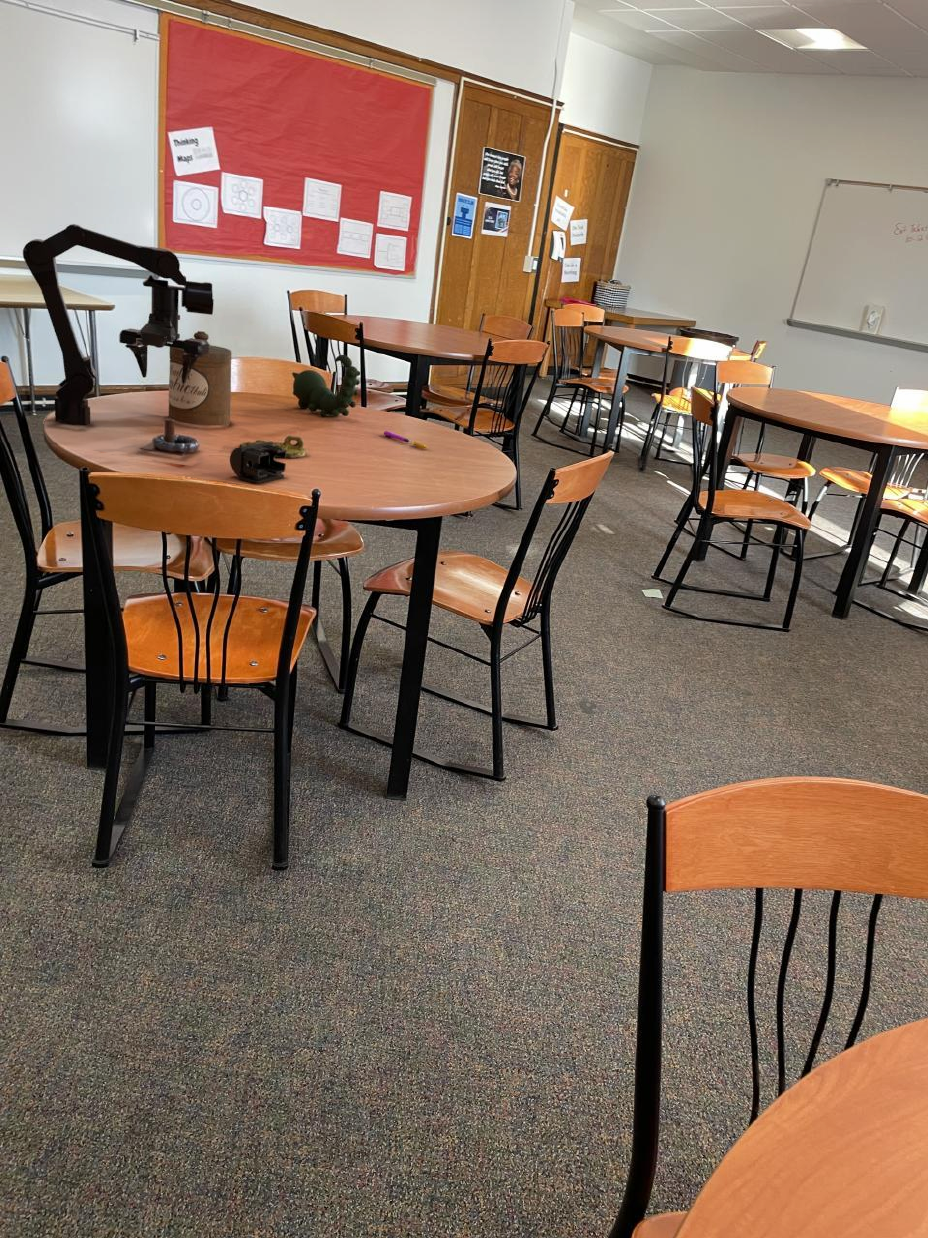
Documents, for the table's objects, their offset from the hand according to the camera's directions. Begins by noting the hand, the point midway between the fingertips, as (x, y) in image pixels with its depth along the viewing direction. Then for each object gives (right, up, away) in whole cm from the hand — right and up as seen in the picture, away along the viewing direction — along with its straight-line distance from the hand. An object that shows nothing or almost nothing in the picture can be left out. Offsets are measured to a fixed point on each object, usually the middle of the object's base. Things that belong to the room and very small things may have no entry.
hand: (164, 380), depth 207 cm
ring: (+7, -17, -12) cm, 22 cm away
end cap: (+26, -25, -19) cm, 41 cm away
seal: (+25, -17, +2) cm, 30 cm away
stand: (+5, -19, -11) cm, 22 cm away
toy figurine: (+28, +4, +51) cm, 59 cm away
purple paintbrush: (+54, -8, +33) cm, 63 cm away
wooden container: (+2, -6, +19) cm, 20 cm away
